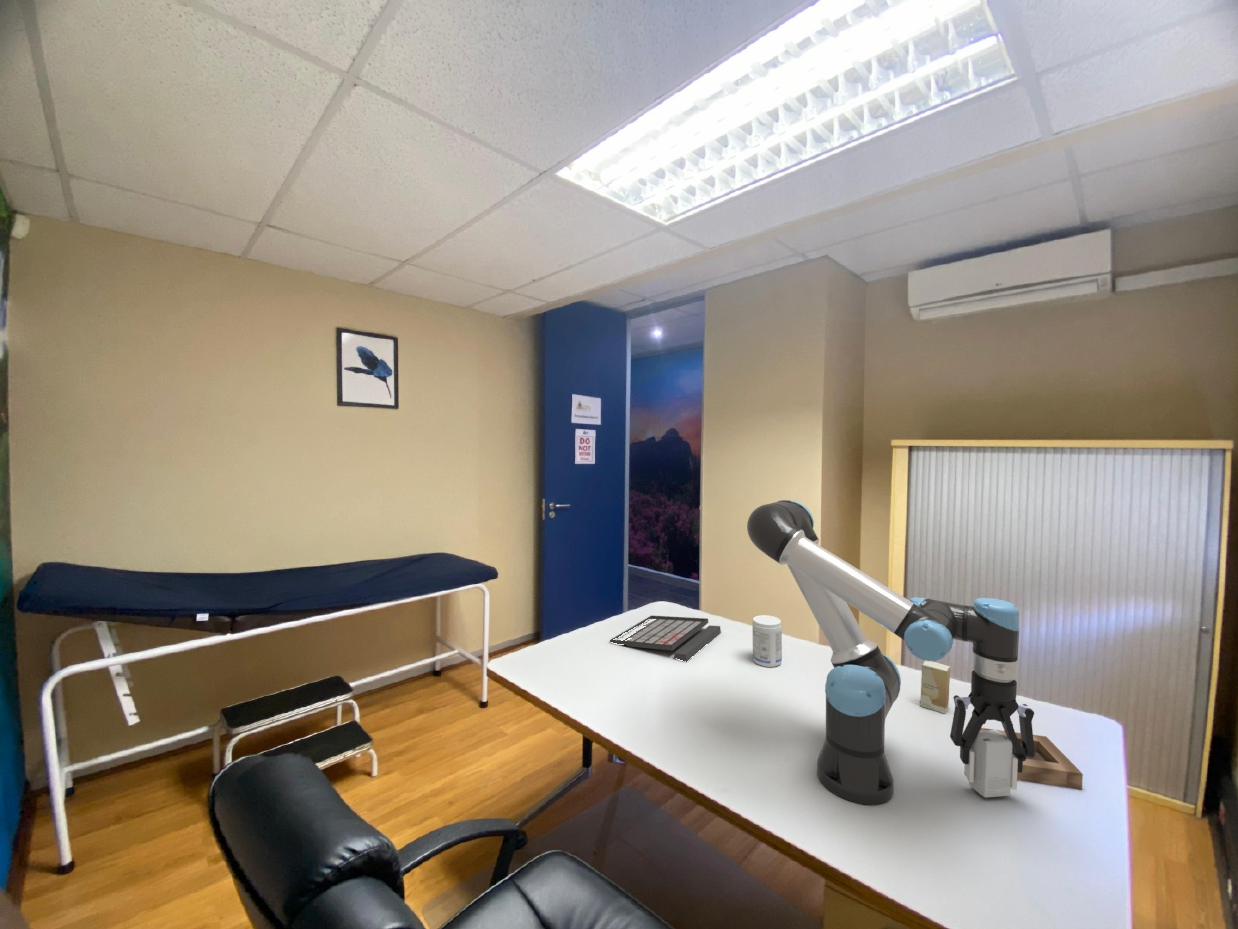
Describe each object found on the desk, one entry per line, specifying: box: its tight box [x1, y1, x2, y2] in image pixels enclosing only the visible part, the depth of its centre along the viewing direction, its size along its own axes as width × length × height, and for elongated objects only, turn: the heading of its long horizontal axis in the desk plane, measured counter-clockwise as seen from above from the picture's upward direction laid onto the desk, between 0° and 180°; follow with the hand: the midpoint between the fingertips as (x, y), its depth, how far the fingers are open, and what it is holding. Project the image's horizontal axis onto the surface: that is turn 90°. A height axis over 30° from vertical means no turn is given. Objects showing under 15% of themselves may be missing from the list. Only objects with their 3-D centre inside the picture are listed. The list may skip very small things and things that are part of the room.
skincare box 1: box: [919, 660, 951, 715], centre depth 137 cm, size 6×4×12 cm
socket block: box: [980, 727, 1084, 791], centre depth 113 cm, size 14×14×4 cm
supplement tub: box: [752, 614, 783, 668], centre depth 167 cm, size 10×10×15 cm
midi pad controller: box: [609, 615, 722, 663], centre depth 190 cm, size 32×7×31 cm
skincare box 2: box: [968, 729, 1013, 798], centre depth 103 cm, size 6×4×12 cm
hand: (989, 781), depth 103 cm, fingers closed on skincare box 2, 7 cm apart
